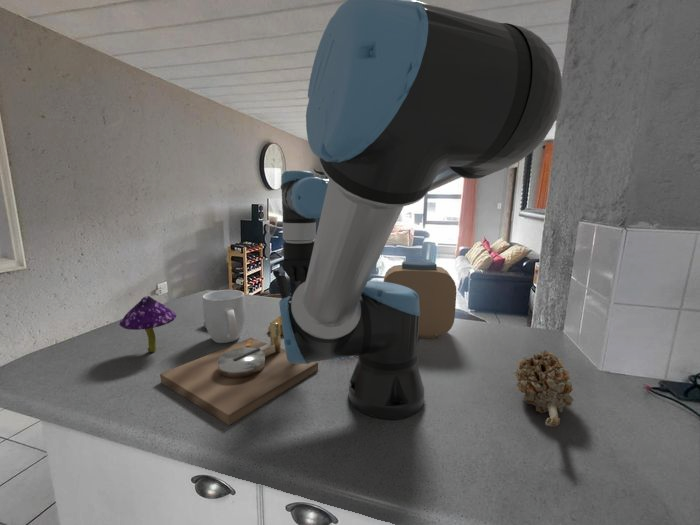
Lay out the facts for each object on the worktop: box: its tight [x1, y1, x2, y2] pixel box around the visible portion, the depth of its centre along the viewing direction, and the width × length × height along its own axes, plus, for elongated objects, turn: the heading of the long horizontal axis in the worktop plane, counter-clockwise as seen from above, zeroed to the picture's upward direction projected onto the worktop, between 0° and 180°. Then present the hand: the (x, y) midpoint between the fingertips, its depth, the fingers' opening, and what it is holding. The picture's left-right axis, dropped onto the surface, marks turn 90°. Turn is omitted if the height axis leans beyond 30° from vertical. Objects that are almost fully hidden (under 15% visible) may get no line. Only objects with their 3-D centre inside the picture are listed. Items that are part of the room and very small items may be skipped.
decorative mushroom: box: [119, 295, 177, 353], centre depth 84 cm, size 12×12×15 cm
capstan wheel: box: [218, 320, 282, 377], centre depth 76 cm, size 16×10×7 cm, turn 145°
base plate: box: [159, 337, 319, 426], centre depth 74 cm, size 24×24×2 cm
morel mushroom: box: [514, 350, 575, 427], centre depth 61 cm, size 22×10×10 cm, turn 161°
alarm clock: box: [382, 261, 457, 339], centre depth 99 cm, size 21×10×22 cm, turn 82°
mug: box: [202, 289, 246, 344], centre depth 92 cm, size 15×11×13 cm
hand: (301, 337), depth 80 cm, fingers closed
